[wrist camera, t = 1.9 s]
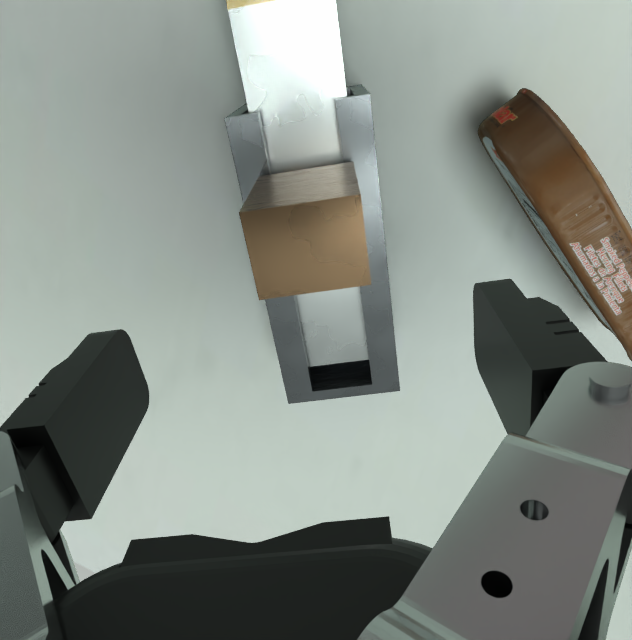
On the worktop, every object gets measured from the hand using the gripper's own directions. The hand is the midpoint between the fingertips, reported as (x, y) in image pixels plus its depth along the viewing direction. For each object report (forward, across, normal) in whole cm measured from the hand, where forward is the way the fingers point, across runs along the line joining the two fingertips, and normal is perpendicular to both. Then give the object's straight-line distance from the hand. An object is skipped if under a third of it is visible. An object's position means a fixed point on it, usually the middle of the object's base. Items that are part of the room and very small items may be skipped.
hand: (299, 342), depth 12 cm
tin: (+19, -12, +4) cm, 23 cm away
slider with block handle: (+17, 0, 0) cm, 17 cm away
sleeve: (+18, 0, +3) cm, 19 cm away
